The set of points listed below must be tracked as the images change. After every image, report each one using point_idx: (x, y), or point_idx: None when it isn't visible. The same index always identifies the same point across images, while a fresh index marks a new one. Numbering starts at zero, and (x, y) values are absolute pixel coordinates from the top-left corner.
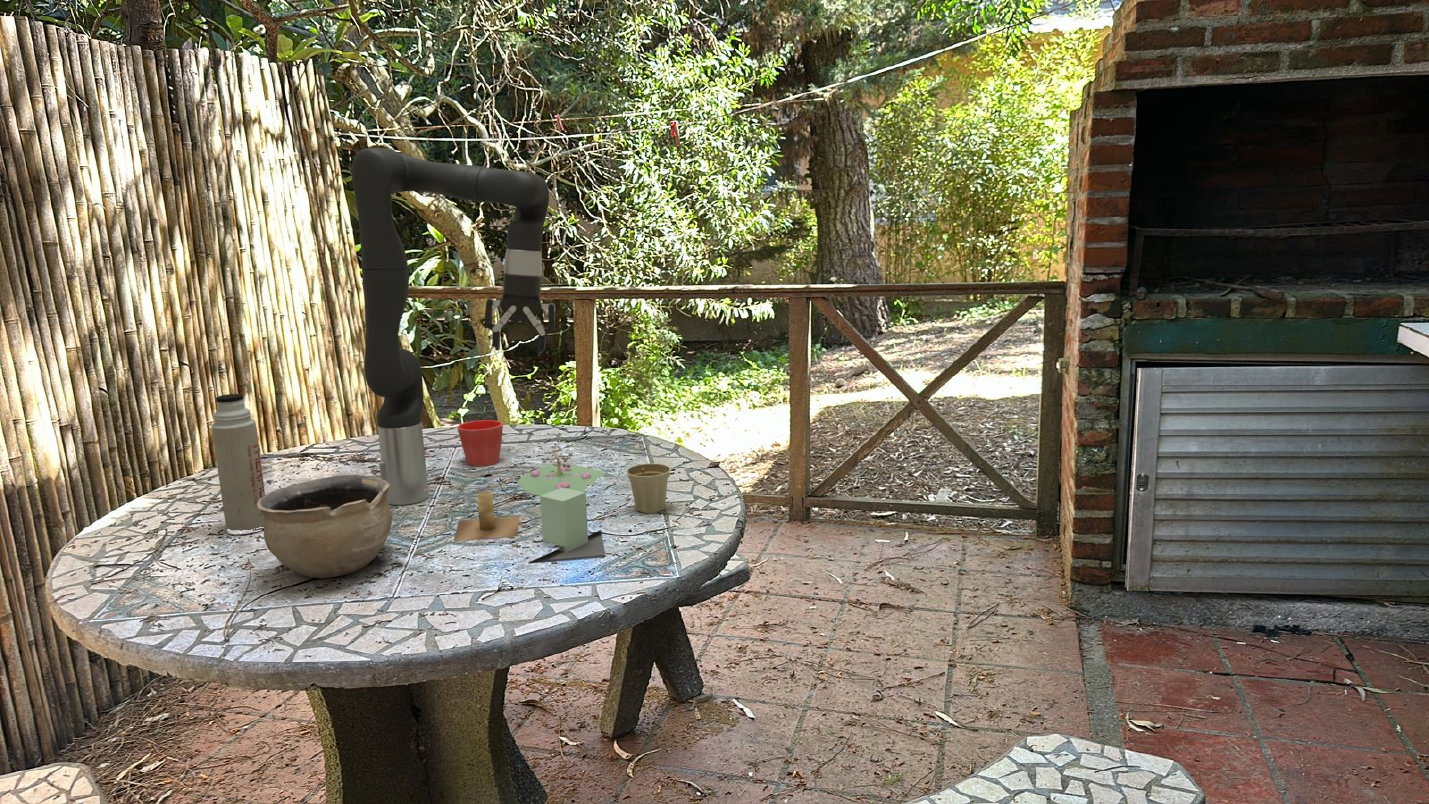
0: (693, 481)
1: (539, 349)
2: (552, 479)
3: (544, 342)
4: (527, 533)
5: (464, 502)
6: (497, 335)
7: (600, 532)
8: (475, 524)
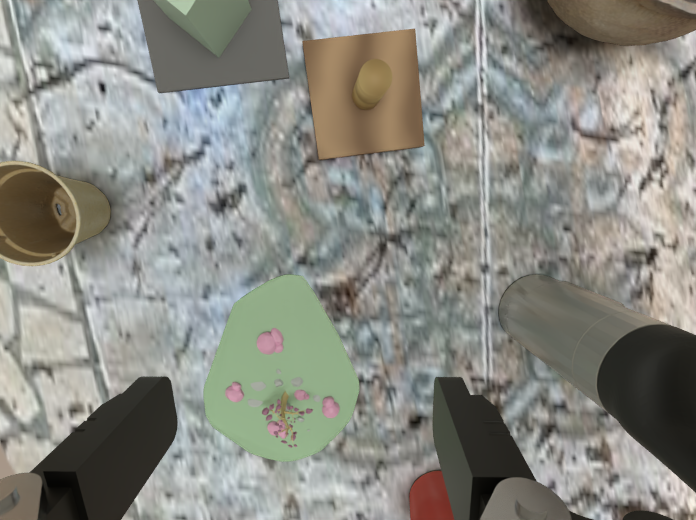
0: (22, 360)
1: (135, 388)
2: (294, 378)
3: (65, 442)
4: (295, 99)
5: (433, 281)
6: (480, 454)
7: (155, 72)
8: (390, 118)
